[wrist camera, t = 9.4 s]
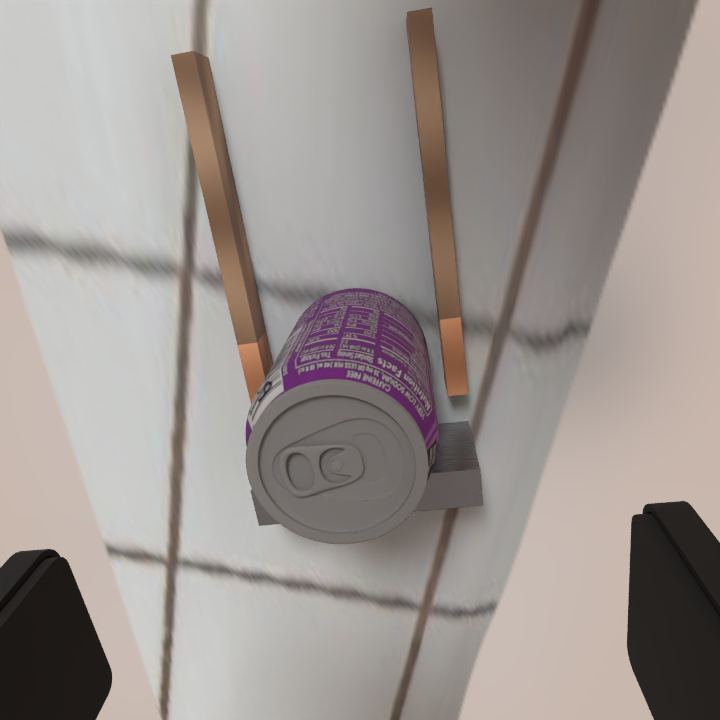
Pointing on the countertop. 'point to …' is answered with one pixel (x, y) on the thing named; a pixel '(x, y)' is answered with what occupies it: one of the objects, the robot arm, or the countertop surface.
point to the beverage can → (345, 421)
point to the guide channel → (456, 448)
